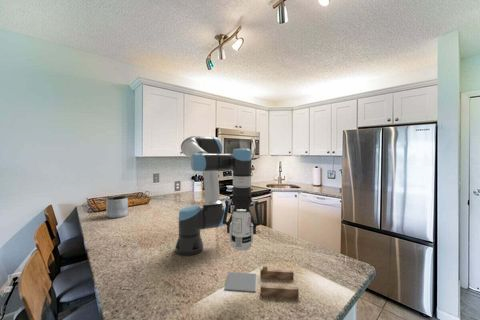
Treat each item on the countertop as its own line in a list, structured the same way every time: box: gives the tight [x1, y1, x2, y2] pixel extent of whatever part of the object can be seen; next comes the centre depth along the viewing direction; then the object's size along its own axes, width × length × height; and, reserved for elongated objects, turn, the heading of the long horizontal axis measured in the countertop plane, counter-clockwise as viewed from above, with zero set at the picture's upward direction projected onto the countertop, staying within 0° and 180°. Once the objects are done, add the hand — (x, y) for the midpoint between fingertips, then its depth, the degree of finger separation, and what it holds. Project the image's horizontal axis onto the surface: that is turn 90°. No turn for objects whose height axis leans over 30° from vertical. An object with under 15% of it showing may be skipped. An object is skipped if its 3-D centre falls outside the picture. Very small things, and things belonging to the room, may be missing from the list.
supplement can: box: [230, 209, 253, 251], centre depth 87 cm, size 8×8×15 cm
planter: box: [105, 195, 129, 219], centre depth 180 cm, size 16×16×16 cm
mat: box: [223, 271, 257, 293], centre depth 88 cm, size 12×12×1 cm
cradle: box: [259, 264, 300, 299], centre depth 85 cm, size 14×13×4 cm
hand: (241, 241), depth 87 cm, fingers closed on supplement can, 8 cm apart
